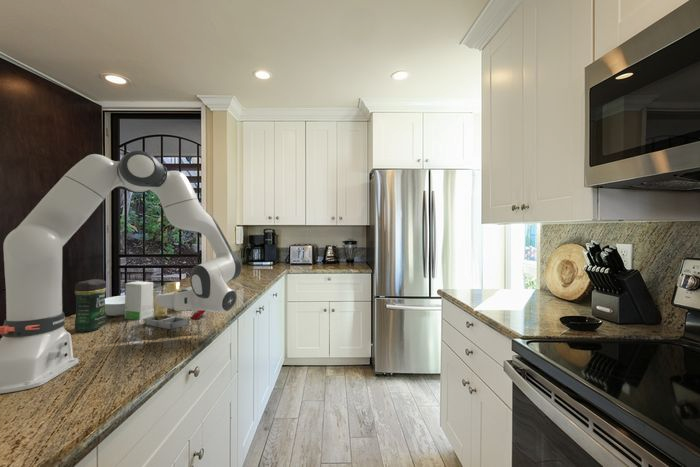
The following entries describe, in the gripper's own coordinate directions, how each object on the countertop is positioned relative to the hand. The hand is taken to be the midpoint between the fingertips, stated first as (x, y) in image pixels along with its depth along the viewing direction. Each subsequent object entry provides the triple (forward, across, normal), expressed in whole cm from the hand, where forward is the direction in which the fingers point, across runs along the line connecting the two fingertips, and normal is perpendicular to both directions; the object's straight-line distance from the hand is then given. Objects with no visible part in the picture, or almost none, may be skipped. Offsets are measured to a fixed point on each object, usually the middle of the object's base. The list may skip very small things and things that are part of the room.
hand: (171, 294), depth 127 cm
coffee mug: (+19, -18, +13) cm, 29 cm away
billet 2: (-1, 0, +6) cm, 6 cm away
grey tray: (+3, 0, +13) cm, 13 cm away
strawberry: (0, -12, +13) cm, 18 cm away
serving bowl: (+38, -6, +13) cm, 40 cm away
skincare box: (+23, -2, +13) cm, 27 cm away
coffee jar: (+27, +14, +13) cm, 33 cm away
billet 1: (+7, 0, +12) cm, 13 cm away
